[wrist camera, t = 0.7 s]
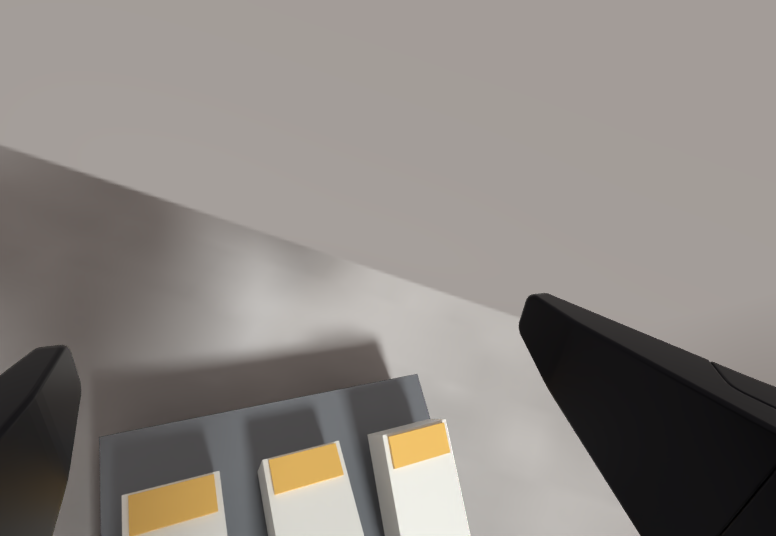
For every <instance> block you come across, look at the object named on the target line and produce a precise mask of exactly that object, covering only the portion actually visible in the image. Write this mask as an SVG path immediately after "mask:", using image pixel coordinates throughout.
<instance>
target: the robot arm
mask: <svg viewBox="0 0 776 536" xmlns="http://www.w3.org/2000/svg"><path fill="white" fill-rule="evenodd" d="M519 331H520V334H521V336H522V338H523V340H524V342H525V344H526V346H527V348H528V350H529V352H530V354H531V356H532V358H533V360H534V362H535V364H536V366H537V368H538V370H539V372H540V374H541V376H542V378H543V380H544V382H545V384H546V386H547V388H548V390H549V391H550V393H551V395H552V396H553V398H554V399H555V401H556V403H557V404H558V406H559V407H560V409H561V411H562V412H563V414H564V415H565V417H566V418H567V420H568V422H569V423H570V425H571V426H572V428H573V430H574V431H575V433H576V434H577V436H578V437H579V439H580V441H581V442H582V444H583V445H584V447H585V449H586V450H587V452H588V453H589V455H590V456H591V458H592V460H593V461H594V463H595V464H596V466H597V468H598V469H599V471H600V472H601V474H602V475H603V477H604V479H605V480H606V482H607V483H608V485H609V487H610V488H611V490H612V491H613V493H614V494H615V496H616V498H617V499H618V501H619V502H620V504H621V506H622V507H623V509H624V510H625V512H626V513H627V515H628V517H629V518H630V520H631V521H632V523H633V525H634V526H635V528H636V529H637V531H638V532H639V534H640V536H776V387H774V386H771V385H769V384H767V383H764V382H761V381H759V380H756V379H754V378H751V377H749V376H746V375H744V374H741V373H739V372H736V371H734V370H731V369H729V368H727V367H724V366H722V365H719V364H717V363H715V362H709V360H707V359H705V358H702V357H700V356H697V355H695V354H692V353H690V352H688V351H685V350H683V349H681V348H678V347H676V346H673V345H671V344H668V343H666V342H664V341H661V340H659V339H656V338H654V337H651V336H649V335H647V334H644V333H642V332H639V331H637V330H635V329H632V328H630V327H627V326H625V325H623V324H620V323H618V322H615V321H613V320H611V319H608V318H606V317H603V316H601V315H598V314H596V313H594V312H591V311H589V310H586V309H584V308H582V307H579V306H577V305H574V304H572V303H569V302H567V301H565V300H562V299H560V298H557V297H555V296H552V295H550V294H547V293H541V294H533V295H530V296H529V297H528V298H527V299H526V302H525V306H524V309H523V312H522V315H521V318H520V321H519ZM80 397H81V383H80V379H79V376H78V373H77V370H76V366H75V363H74V360H73V357H72V354H71V351H70V349H69V348H68V347H67V346H65V345H57V346H47V347H39V348H36V349H35V350H33V351H32V352H30V353H29V354H28V355H26V356H25V357H24V358H22V359H21V360H20V361H18V362H17V363H16V364H14V365H13V366H12V367H10V368H9V369H8V370H6V371H5V372H4V373H2V374H1V375H0V536H52V535H53V531H54V528H55V524H56V521H57V517H58V514H59V510H60V507H61V503H62V500H63V496H64V492H65V489H66V485H67V481H68V475H69V470H70V464H71V457H72V451H73V444H74V437H75V431H76V424H77V417H78V411H79V404H80Z"/></svg>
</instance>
